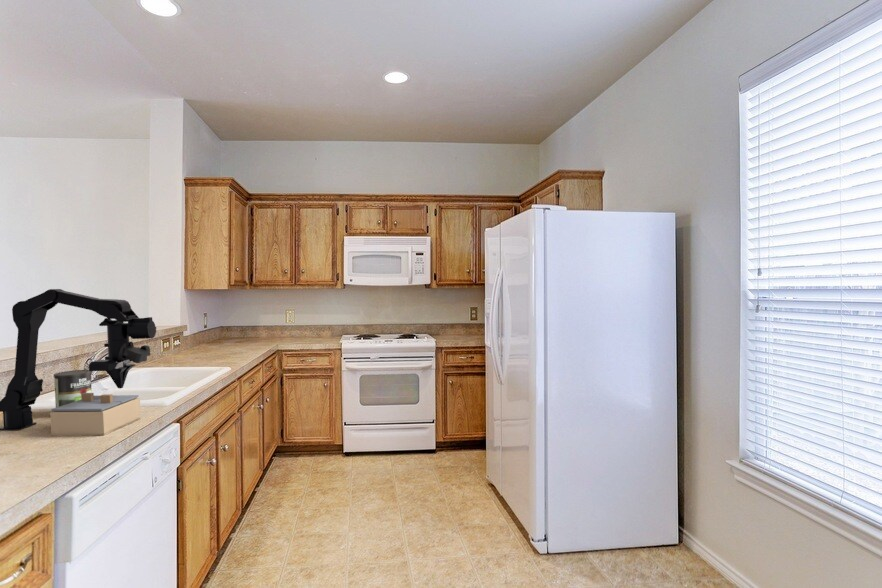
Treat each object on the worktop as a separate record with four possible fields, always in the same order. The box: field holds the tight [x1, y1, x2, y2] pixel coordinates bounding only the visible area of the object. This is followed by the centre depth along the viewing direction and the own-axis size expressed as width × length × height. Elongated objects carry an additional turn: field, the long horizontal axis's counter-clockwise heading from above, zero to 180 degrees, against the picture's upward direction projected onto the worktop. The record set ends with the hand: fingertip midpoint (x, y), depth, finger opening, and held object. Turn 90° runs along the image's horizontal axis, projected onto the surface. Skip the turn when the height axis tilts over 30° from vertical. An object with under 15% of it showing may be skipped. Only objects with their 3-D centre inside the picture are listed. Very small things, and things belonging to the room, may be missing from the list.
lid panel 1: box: [51, 394, 121, 412], centre depth 144 cm, size 15×8×3 cm, turn 87°
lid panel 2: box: [75, 392, 140, 403], centre depth 153 cm, size 15×8×3 cm, turn 87°
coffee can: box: [53, 369, 93, 408], centre depth 166 cm, size 10×10×14 cm
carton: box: [49, 397, 142, 437], centre depth 149 cm, size 16×16×7 cm
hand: (120, 388), depth 153 cm, fingers closed
